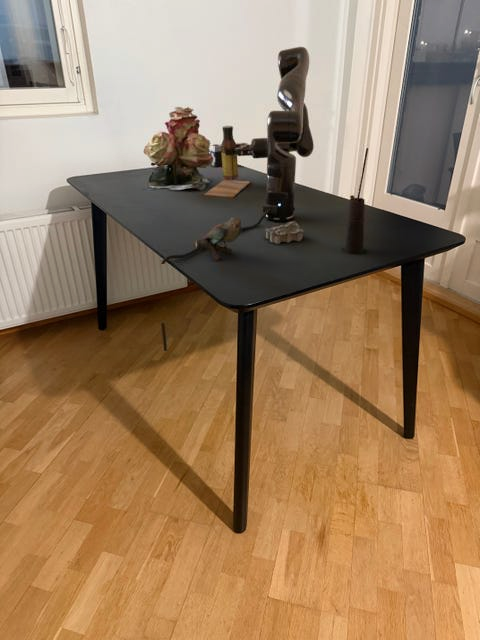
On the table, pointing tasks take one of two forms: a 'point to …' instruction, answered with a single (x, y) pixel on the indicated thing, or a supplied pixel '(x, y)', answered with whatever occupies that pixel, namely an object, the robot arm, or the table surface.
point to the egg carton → (284, 233)
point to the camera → (216, 155)
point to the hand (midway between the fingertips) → (223, 150)
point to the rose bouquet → (179, 153)
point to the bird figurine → (221, 237)
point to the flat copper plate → (227, 188)
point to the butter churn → (356, 221)
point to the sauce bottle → (229, 160)
